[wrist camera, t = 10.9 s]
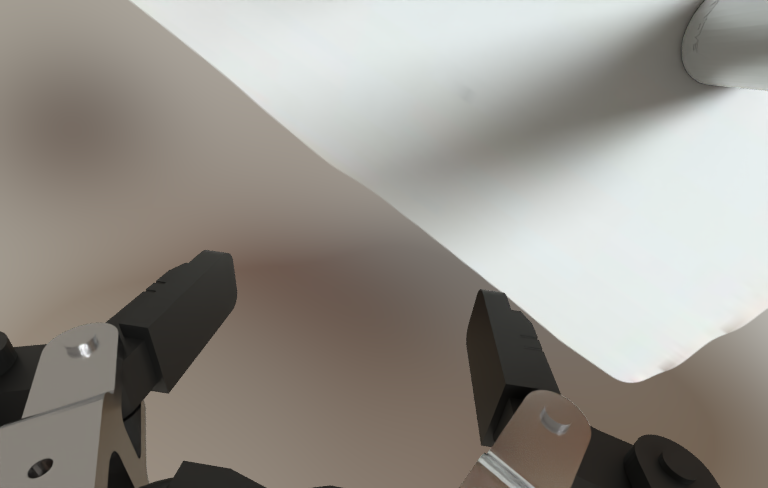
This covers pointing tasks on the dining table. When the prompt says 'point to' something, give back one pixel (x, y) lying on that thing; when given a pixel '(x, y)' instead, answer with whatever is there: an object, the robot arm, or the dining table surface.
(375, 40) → the dining table surface
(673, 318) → the dining table surface
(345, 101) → the dining table surface
